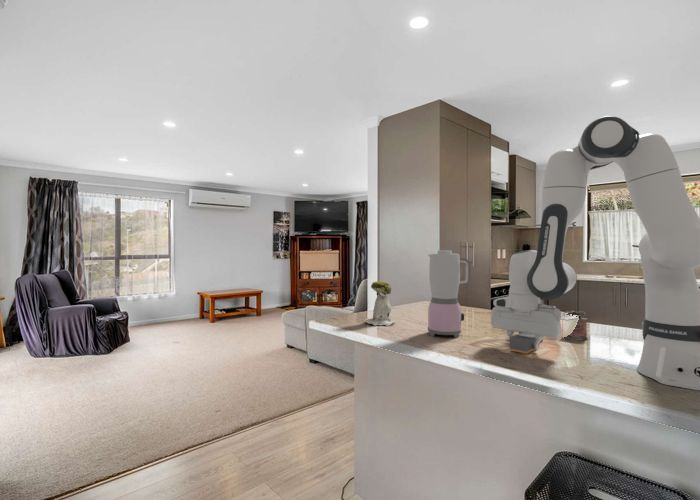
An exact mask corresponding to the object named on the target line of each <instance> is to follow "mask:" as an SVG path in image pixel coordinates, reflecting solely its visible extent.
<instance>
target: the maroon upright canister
mask: <svg viewBox="0 0 700 500" xmlns="http://www.w3.org/2000/svg"><path fill="white" fill-rule="evenodd" d="M566 313H568V314H566ZM570 314H572V316H573V315H577V316H576V317H578V318H579V320H578V322H577V325H576V327H575V329H574V330H573V332H572V333H571V334H570V335H568V336H567V337H564V338H563V340H573V341H575V340H576V341H587V340H588V336H587V335H588V333H587V331H588V330H587V329H588V318H586V317H582V316H586V312H585V311H575V310H571V311H565V315H569V316H570Z"/></svg>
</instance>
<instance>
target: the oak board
mask: <svg viewBox="0 0 700 500" xmlns="http://www.w3.org/2000/svg"><path fill="white" fill-rule="evenodd" d="M464 345H469V346H474V347H477V348H482V349H487V350H491V351H495V352H499V353H505V354H510V355H513V356H519V357H522V358H527V359H531V360H535V359H536V358H538V357H541V356H542V355H544V354H546V353H549V352H550V351H552V349H551V348H550V349H549V348H546V347H540V346H539V348H538V350H533V351H531V352H529V353H527V354H525V353H520V352H516V351H511V350H510V340H505V339H500V338H496V337H490V336H484V337H481V338H478V339H474V340H470V341H468V342H465V343H464Z"/></svg>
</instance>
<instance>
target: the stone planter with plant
mask: <svg viewBox="0 0 700 500" xmlns="http://www.w3.org/2000/svg"><path fill="white" fill-rule="evenodd" d="M370 288H371V289H372V290H373V291H374V292H375V293H376V298H375V301H374V305H373V311H372V312H373V313H372V317H369V318H366V319H365V322H366V323H367V324H371V325H374V326H382V325H386V326H385V327H389V326H392V324H393V325H395V324H396V320H395V319H393V318H392V319H391V318H390V313H391V312H392V307H391V305H392V304H391V302H390V300H389V296H388V295H390V294H391V293H392V286H391V284H390V283H389V282H387V281H384V280H376V281H373V282H372V283H371V286H370Z"/></svg>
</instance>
